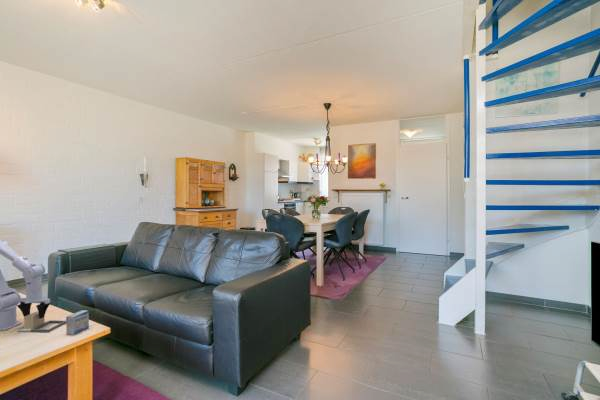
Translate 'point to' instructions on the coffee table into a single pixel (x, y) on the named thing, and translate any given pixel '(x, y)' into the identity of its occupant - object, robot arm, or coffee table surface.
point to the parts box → (32, 320)
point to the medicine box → (77, 322)
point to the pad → (25, 330)
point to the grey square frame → (37, 329)
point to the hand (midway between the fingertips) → (34, 317)
